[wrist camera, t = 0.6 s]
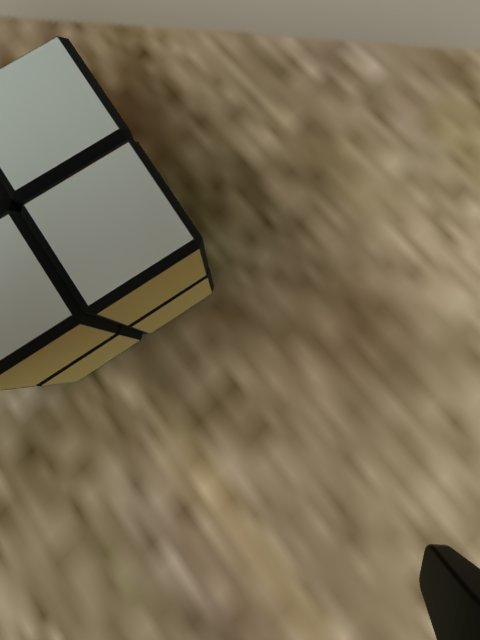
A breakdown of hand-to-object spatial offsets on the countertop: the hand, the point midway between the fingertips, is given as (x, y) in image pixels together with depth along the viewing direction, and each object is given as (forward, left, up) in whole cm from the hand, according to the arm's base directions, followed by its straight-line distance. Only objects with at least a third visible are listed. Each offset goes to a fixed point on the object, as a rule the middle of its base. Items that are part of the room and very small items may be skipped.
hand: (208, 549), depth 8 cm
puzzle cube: (+7, +10, -15) cm, 19 cm away
